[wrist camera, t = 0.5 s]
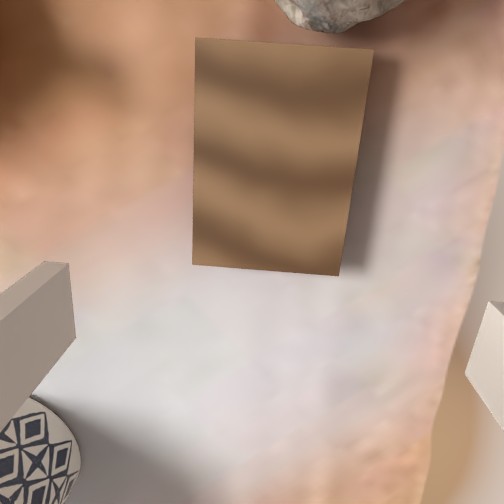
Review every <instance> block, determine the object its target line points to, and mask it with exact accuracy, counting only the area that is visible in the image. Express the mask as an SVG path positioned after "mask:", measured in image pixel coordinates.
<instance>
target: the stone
mask: <svg viewBox="0 0 504 504" xmlns="http://www.w3.org/2000/svg"><path fill="white" fill-rule="evenodd" d="M275 1H276V3H277V5H278V6H279V8H280V9H281V10H282V11H283V12H284V13H285V15H286V16H287V17H288V19H289V20H290V21H291V22H292V23H293V24H295V25H297V26H299V27H302V28H305V29H307V30H312V31H316V32H319V31H321V32H326V33H342V32H344V31H346V30H347V29H349V28H351V27H353V26H354V25H355V24H357V23H360V22H362V21H367V20H371V19H374V18H377V17H379V16H382V15H383V14H385V13H386V12H388V11H389V10H391V9H393V8H395V7H397V6H398V5H399V4H401V3H402V2H404V1H405V0H275Z"/></svg>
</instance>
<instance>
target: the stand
mask: <svg viewBox="0 0 504 504" xmlns="http://www.w3.org/2000/svg"><path fill="white" fill-rule="evenodd" d="M373 55H374V50H373V49H359V48H344V47H329V46H314V45H299V44H285V43H270V42H255V41H240V40H225V39H211V38H196V37H195V106H194V179H193V251H192V265H204V266H217V267H229V268H242V269H254V270H267V271H280V272H292V273H305V274H318V275H330V276H339V272H340V266H341V259H342V253H343V246H344V240H345V234H346V227H347V221H348V215H349V208H350V202H351V195H352V189H353V183H354V176H355V170H356V163H357V157H358V151H359V144H360V138H361V132H362V125H363V119H364V112H365V106H366V100H367V93H368V87H369V80H370V74H371V68H372V61H373Z"/></svg>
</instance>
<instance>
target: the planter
mask: <svg viewBox="0 0 504 504" xmlns="http://www.w3.org/2000/svg"><path fill="white" fill-rule="evenodd" d="M80 466H81V457H80V452H79V447H78V444H77V442H76V440H75V438H74V436H73V434H72V433H71V431H70V430H69V428H68V427H67V426H66V425H65V423H64V422H63V421H62V420H61V419H60V418H59V417H58V416H57V415H56V414H55V413H53V412H52V411H51V410H49V409H48V408H47V407H45V406H44V405H42V404H40V403H39V402H37V401H35V400H33V399H31V398H29V397H28V399H27V400H26V401H25V402H24V404H23V405H22V406H21V407H20V409H19V410H18V411H17V412H16V414H15V415H14V416H13V417H12V419H11V420H10V421H9V422H8V424H7V425H6V426H5V427H4V429H3V430H2V431H1V432H0V504H65V502H66V500H67V498H68V496H69V494H70V492H71V490H72V488H73V486H74V484H75V482H76V480H77V477H78V475H79V471H80Z"/></svg>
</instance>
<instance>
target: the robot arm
mask: <svg viewBox="0 0 504 504" xmlns="http://www.w3.org/2000/svg"><path fill="white" fill-rule="evenodd" d="M75 338H76V333H75V323H74V313H73V303H72V293H71V283H70V273H69V263H59V262H48V261H44V262H43V263H41V264H40V265H39V266H37V267H36V268H35V269H33V270H32V271H31V272H29V273H28V274H27V275H25V276H24V277H23V278H21V279H20V280H19V281H17V282H16V283H15V284H13V285H12V286H11V287H9V288H8V289H7V290H5V291H4V292H2V293H1V294H0V432H1V431H2V430H3V429H4V427H5V426H6V425H7V424H8V422H9V421H10V420H11V419H12V417H13V416H14V415H15V414H16V412H17V411H18V410H19V409H20V407H21V406H22V405H23V404H24V402H25V401H26V400H27V399H28V397H29V396H30V395H31V394H32V392H33V391H34V390H35V389H36V387H37V386H38V385H39V384H40V382H41V381H42V380H43V378H44V377H45V376H46V375H47V373H48V372H49V371H50V370H51V368H52V367H53V366H54V365H55V363H56V362H57V361H58V360H59V358H60V357H61V356H62V355H63V353H64V352H65V351H66V350H67V348H68V347H69V346H70V345H71V343H72V342H73V341H74V340H75ZM465 375H466V376H467V378H468V379H469V381H470V382H471V384H472V385H473V387H474V388H475V390H476V391H477V392H478V394H479V395H480V397H481V399H482V400H483V401H484V403H485V405H486V406H487V407H488V409H489V410H490V412H491V413H492V414H493V416H494V418H495V419H496V421H497V422H498V424H499V425H500V427H501V428H502V430H503V431H504V302H494V301H489V302H488V305H487V308H486V311H485V314H484V317H483V320H482V323H481V326H480V329H479V332H478V335H477V338H476V341H475V344H474V347H473V351H472V353H471V356H470V359H469V362H468V365H467V368H466V371H465Z"/></svg>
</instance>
